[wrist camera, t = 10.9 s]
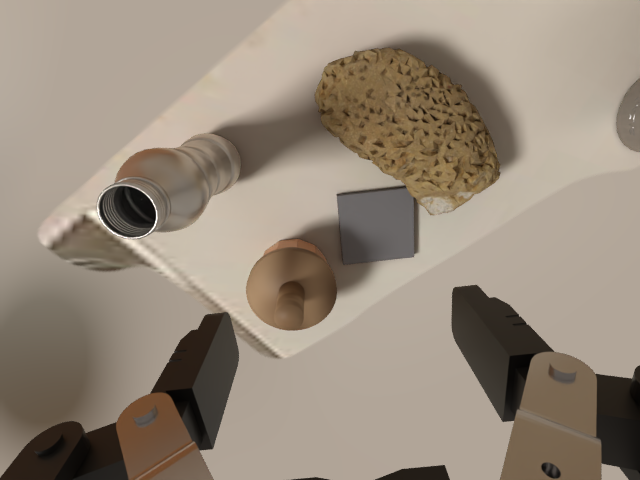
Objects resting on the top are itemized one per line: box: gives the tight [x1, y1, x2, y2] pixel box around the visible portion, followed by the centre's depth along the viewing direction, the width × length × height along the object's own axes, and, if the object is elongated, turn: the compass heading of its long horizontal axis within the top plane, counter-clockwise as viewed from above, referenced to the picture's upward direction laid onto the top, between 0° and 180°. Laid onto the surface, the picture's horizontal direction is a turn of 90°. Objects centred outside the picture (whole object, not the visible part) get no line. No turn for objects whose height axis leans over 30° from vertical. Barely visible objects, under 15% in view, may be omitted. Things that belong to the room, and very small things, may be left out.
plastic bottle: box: [97, 133, 241, 239], centre depth 30 cm, size 6×7×20 cm
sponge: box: [315, 48, 500, 215], centre depth 35 cm, size 13×8×20 cm
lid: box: [246, 247, 337, 330], centre depth 38 cm, size 10×10×6 cm
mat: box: [337, 187, 414, 265], centre depth 42 cm, size 9×9×1 cm
